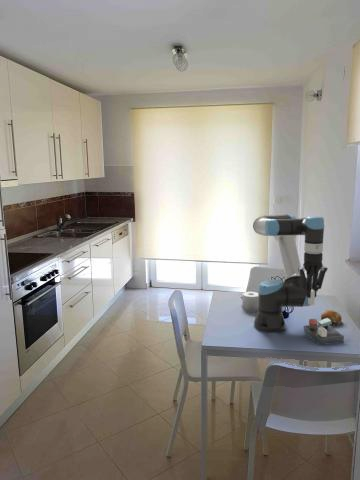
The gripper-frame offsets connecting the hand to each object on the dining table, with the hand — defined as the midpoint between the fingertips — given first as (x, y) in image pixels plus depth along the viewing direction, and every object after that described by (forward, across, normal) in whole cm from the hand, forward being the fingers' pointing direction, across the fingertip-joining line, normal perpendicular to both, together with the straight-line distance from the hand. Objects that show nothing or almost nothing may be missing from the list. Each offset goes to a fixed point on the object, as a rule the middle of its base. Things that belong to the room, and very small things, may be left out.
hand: (311, 304), depth 168 cm
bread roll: (+19, +22, +21) cm, 36 cm away
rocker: (+13, +12, +10) cm, 21 cm away
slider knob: (+15, +6, 0) cm, 16 cm away
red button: (+14, +7, +10) cm, 18 cm away
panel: (+18, +10, +5) cm, 21 cm away
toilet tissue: (+19, -11, +48) cm, 53 cm away
